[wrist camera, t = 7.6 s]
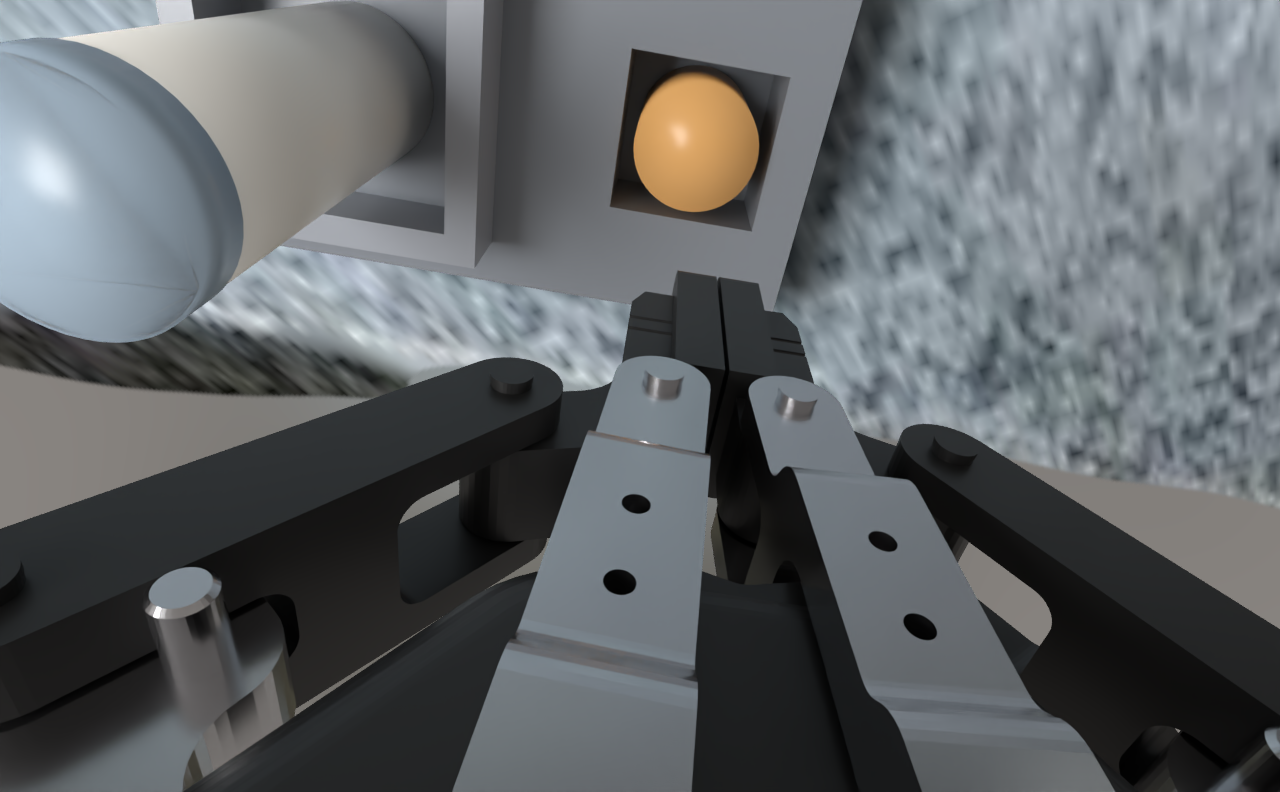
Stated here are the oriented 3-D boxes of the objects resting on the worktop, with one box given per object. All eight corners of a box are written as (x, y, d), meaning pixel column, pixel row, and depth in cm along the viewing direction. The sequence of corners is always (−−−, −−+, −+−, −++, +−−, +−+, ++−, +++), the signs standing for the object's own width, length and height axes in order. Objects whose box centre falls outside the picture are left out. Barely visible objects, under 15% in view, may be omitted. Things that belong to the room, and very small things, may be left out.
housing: (847, -45, 23) (898, -45, 18) (758, 285, 30) (775, 360, 24) (240, -162, 23) (98, -199, 17) (282, 204, 29) (189, 262, 23)
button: (760, 76, 25) (773, 95, 22) (735, 187, 27) (742, 221, 24) (649, 55, 25) (644, 71, 21) (632, 169, 27) (625, 200, 24)
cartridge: (466, 96, 23) (263, 232, 12) (371, 192, 24) (118, 388, 13) (344, -41, 21) (-35, -35, 10) (251, 74, 23) (-157, 189, 12)
